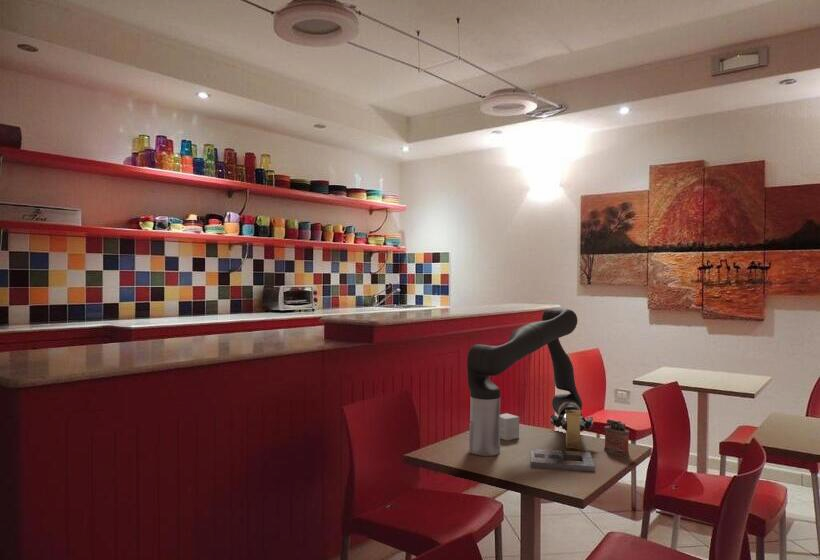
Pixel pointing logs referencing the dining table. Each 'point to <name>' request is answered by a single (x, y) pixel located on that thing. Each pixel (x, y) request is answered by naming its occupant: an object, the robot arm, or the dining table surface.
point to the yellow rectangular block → (573, 428)
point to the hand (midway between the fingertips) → (573, 427)
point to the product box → (509, 426)
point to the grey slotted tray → (562, 460)
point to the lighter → (616, 438)
